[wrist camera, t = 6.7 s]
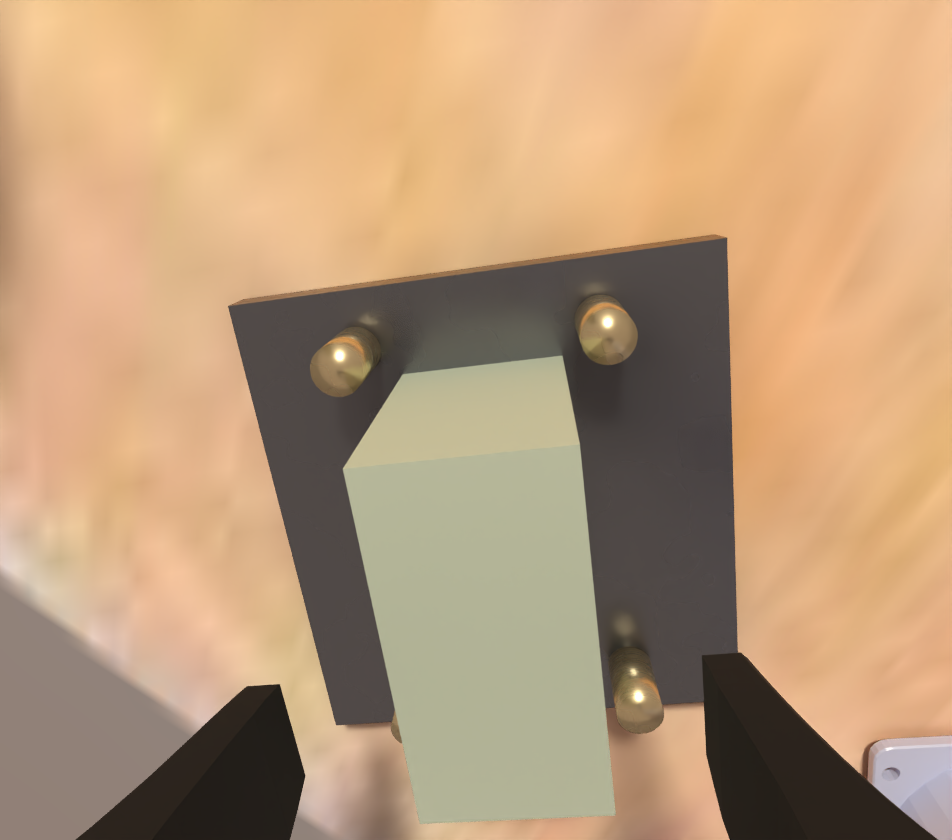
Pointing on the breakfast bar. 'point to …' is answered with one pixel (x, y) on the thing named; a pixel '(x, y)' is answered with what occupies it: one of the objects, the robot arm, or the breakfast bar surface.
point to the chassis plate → (598, 425)
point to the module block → (486, 592)
